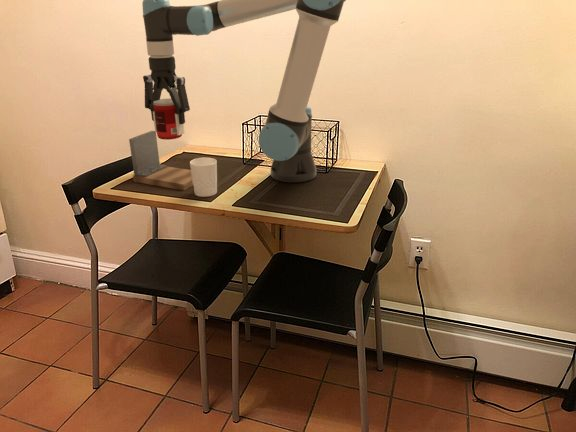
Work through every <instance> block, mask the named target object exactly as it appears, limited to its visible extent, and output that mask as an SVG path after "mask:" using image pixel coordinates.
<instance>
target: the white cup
mask: <svg viewBox="0 0 576 432" xmlns="http://www.w3.org/2000/svg"><path fill="white" fill-rule="evenodd" d="M217 162H218V161H217V159H216V158H213V157H197V158H194V159H192V160H190V161H189V167H190V170H191V175H192V181H193V186H192V187H193V190H194V191H193V192H194V195H195V196H197V197H201V198H204V197H205V198H206V197H213V196H215V195H216V194H217V193H218V165H217V164H218V163H217Z"/></svg>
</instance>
